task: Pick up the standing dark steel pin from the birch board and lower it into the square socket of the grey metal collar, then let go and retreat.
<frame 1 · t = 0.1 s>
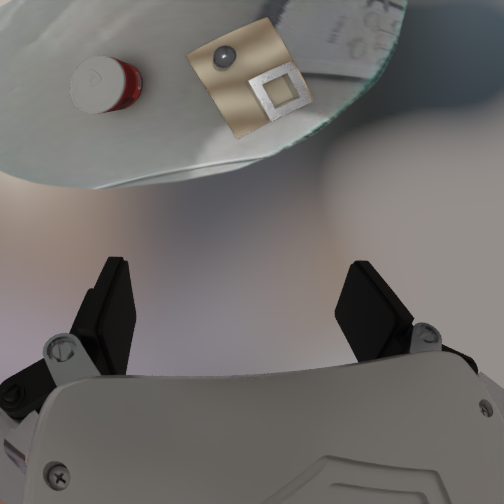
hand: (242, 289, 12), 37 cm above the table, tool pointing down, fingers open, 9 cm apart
pin: (221, 63, 36), point 1 cm above the table, touching board
board: (251, 75, 38), on the table
collar: (275, 91, 39), resting on board
canned food: (120, 86, 36), on the table
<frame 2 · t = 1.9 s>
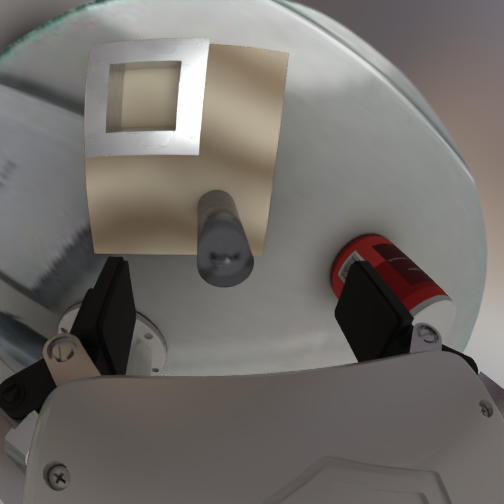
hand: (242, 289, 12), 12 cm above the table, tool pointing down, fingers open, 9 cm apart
pin: (216, 207, 21), point 1 cm above the table, touching board
board: (178, 150, 20), on the table
collar: (151, 97, 16), resting on board
canned food: (361, 266, 28), on the table
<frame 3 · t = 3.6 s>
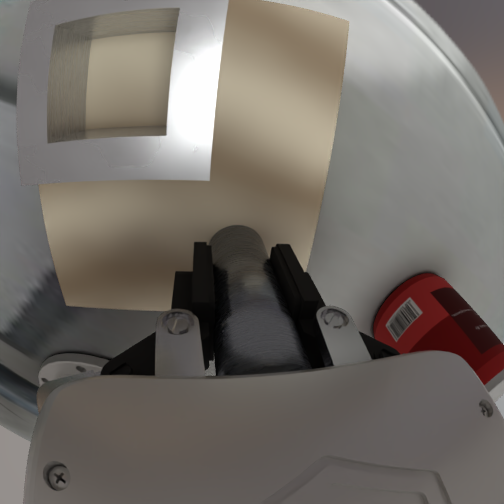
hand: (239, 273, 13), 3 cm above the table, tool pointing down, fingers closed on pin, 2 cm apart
pin: (235, 250, 14), point 1 cm above the table, touching board, gripper
board: (176, 162, 13), on the table
collar: (131, 79, 9), resting on board
canned food: (407, 308, 21), on the table
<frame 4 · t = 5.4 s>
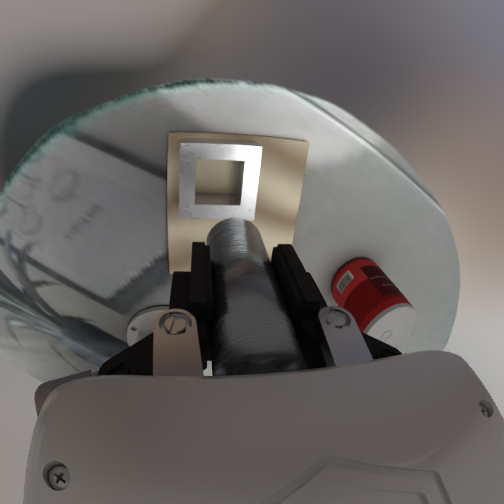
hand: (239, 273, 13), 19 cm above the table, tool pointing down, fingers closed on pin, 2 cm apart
pin: (233, 243, 15), point 17 cm above the table, touching gripper
board: (233, 206, 31), on the table
collar: (217, 173, 28), resting on board
canned food: (353, 279, 39), on the table
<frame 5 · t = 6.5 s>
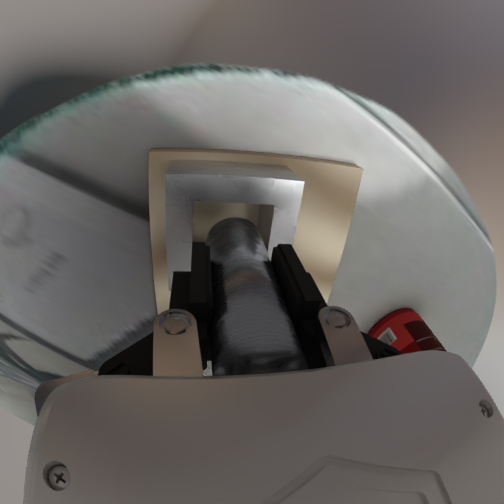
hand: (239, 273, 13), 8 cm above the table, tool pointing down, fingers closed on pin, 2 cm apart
pin: (233, 242, 15), point 6 cm above the table, touching gripper
board: (248, 258, 22), on the table
collar: (226, 214, 18), resting on board
canned food: (390, 331, 30), on the table
when the fingers open (5 cm above the table, at t = 7.3 s): pin drops 1 cm, resting on board.
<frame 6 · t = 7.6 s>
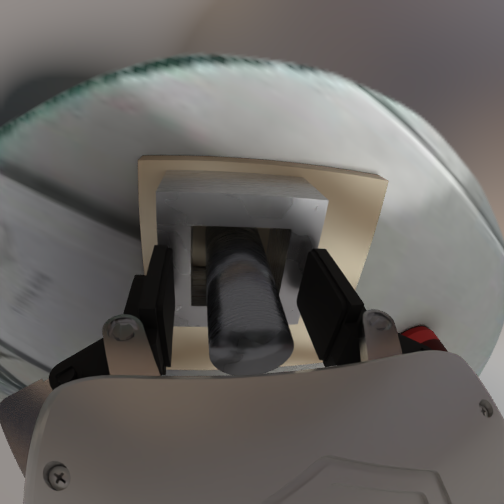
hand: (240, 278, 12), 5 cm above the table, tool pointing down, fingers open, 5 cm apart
pin: (231, 232, 16), point 1 cm above the table, touching board
board: (255, 281, 19), on the table
collar: (231, 234, 16), resting on board
canned food: (402, 348, 28), on the table
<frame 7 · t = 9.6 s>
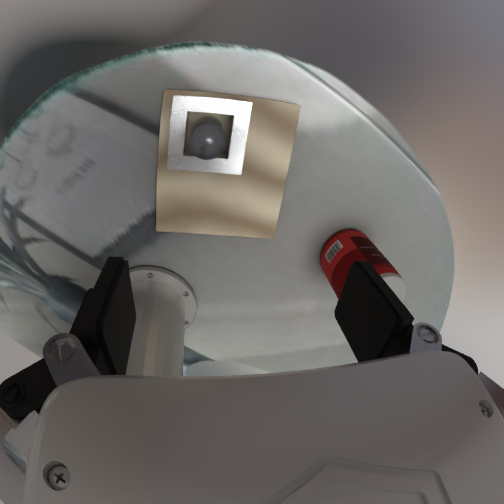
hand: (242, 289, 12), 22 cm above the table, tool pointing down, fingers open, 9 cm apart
pin: (208, 128, 27), point 1 cm above the table, touching board
board: (222, 165, 30), on the table
collar: (208, 130, 27), resting on board
canned food: (343, 251, 39), on the table
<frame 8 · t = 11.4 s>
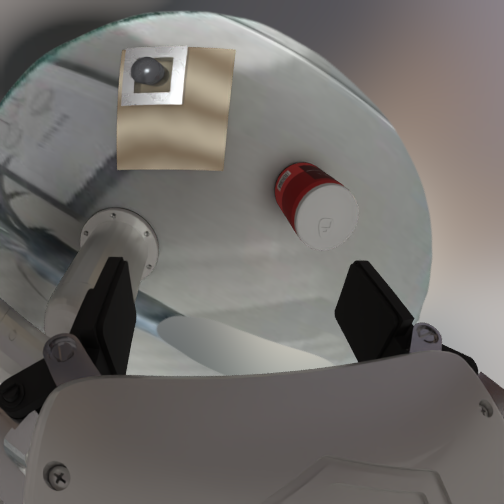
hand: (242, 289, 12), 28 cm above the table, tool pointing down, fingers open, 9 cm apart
pin: (158, 76, 28), point 1 cm above the table, touching board
board: (172, 107, 32), on the table
collar: (158, 77, 28), resting on board
canned food: (299, 187, 40), on the table
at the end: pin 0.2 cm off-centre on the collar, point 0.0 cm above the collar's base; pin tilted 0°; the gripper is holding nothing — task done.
